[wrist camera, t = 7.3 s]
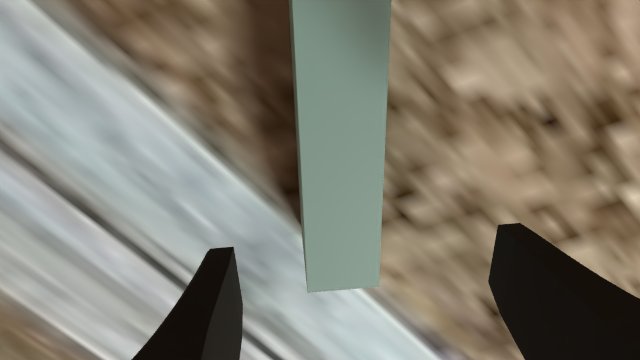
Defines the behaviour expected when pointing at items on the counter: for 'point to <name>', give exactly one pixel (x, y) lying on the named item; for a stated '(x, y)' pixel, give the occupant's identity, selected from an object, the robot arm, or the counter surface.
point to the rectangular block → (340, 136)
